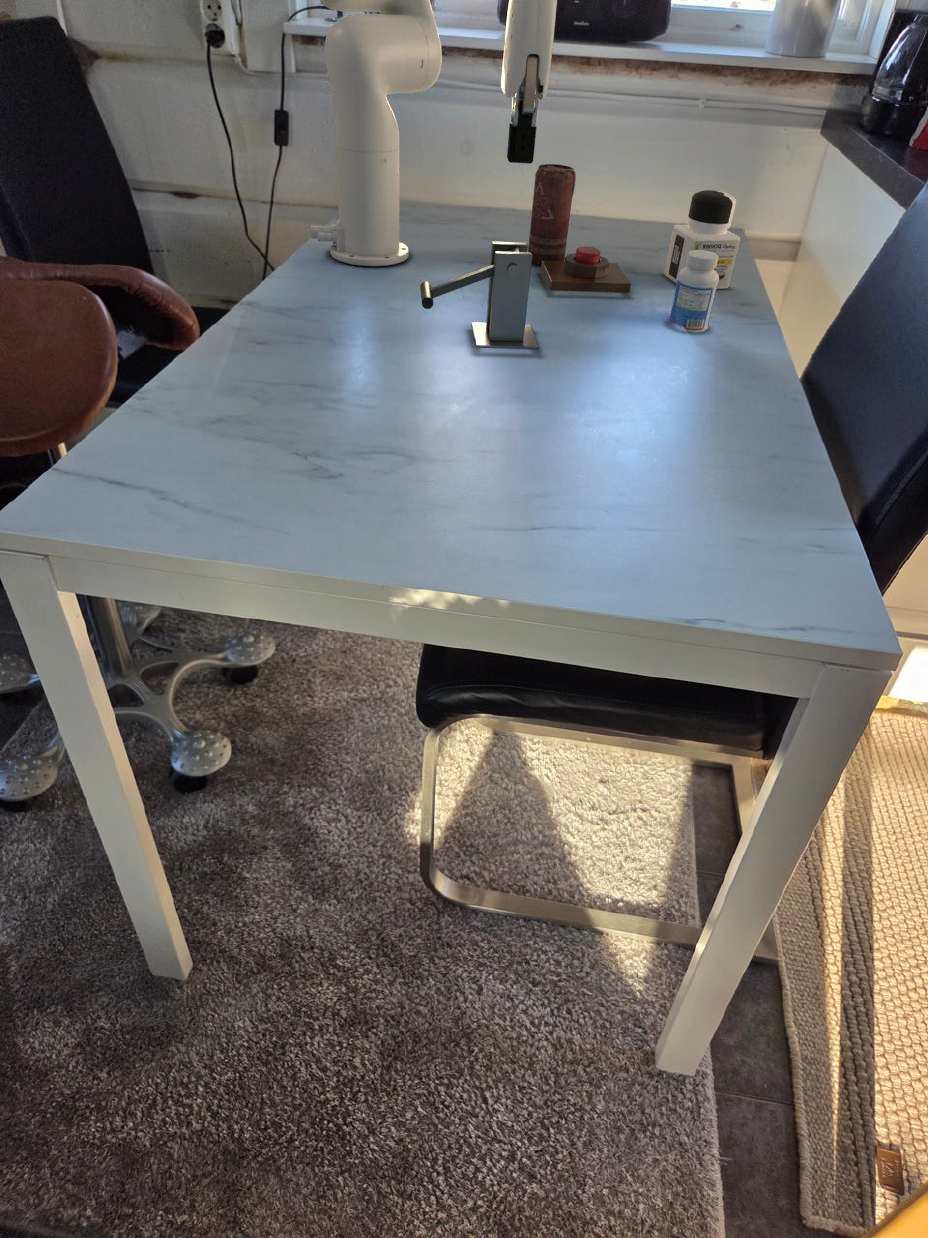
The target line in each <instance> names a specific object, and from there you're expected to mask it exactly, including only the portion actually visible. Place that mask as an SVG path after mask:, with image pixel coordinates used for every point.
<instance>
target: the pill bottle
mask: <svg viewBox="0 0 928 1238" xmlns="http://www.w3.org/2000/svg"><path fill="white" fill-rule="evenodd" d="M686 262H687V265H688V266H687V267H685V268H683V269H682V270H681V271H680V273H679V276H678V281H677V284H676V287H675V291H674V296H673V301H672V305H671V310H670V315H669V320H670V321H671V322H672V323H674V324H676V325H679V326H681V327H683V328H684V329H685V331H686V333H688V334H689V333H690V334H694V333H695V334H696V333H702V332H704V331H706V330H707V329H708V327H709V324H710V320H711V314H712V312H713V311H712V310H713V306H714V302H715V298H716V294H717V290H718V289H717V285H718V281H719V275H718V273H717V272H716V271H714V268H716V266H717V262H718V255H717V254H716V253H714V252H710V251H705V250H692V251H690V252H689V253H688V257H687V260H686Z"/></svg>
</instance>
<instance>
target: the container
mask: <svg viewBox="0 0 928 1238" xmlns="http://www.w3.org/2000/svg"><path fill="white" fill-rule="evenodd" d="M736 204H737V199H736V198H735V197H734V195H732V194H730V193H728V192H724V191H720V190H712V189H706V190H705V189H704V190H700V191H697V192H695V193H694V194H693V195H692V196H691V201H690V206H689V211H688V216H687V220H686V222H687V224H685V223H684V224H674V225H673V228H672V232H671V238H670V242H669V246H668V247H669V248H668V251H667V257H666V262H665V267H664V271H663V275H664V276H665V277H666V278H668V279H669V280H670V281H672V282H673V283H675V284H676V285H677V281H678V276H679V273H680V271H681V270H682V269H683V268H685V267H687V266H688V265H687V262H686V260H687V257H688V253H689V252H690V251H692V250H705V251H710V252H714V253H716V254H717V255H718V262H717V266H716V268H714V271H716V272H717V273H718V275H719V281H718V285H717V290H726V289H728V288H729V286H730V282H731V278H732V275H733V270H734V267H735V262H736V258H737V254H738V251H739V246H740V243H741V237H740V236H739V235H738V234H737V235H736V234H735V233H733V232H731V231H730V230H728V229H730V228H731V224H732V220H733V217H734V213H735V209H736Z"/></svg>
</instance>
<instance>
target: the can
mask: <svg viewBox="0 0 928 1238" xmlns="http://www.w3.org/2000/svg"><path fill="white" fill-rule="evenodd" d="M534 175H535V176H534V185H533V196H532V206H531V216H530V226H529V236H528V251H527V252H530V253H532V265H535V266H540V267H541V265H542V261H565V257H566V250H567V242H568V235H569V225H570V219H571V218H570V217H571V212H572V211H571V210H572V202H573V198H574V193H575V189H576V180H577V179H576V178H577V173H576V171H575V170H574V168H573V167H572V166H569V165H565V164H557V163H555V164H554V163H544V164H540V165H539V166H538V167H537V169H536V172H535V174H534Z"/></svg>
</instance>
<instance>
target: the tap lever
mask: <svg viewBox="0 0 928 1238" xmlns="http://www.w3.org/2000/svg"><path fill="white" fill-rule="evenodd" d="M506 252H519V249H518V247H517V248H514V249H511V250H509V251H506ZM493 275H494V264H492V265H488V266H485V267H482V268H480V269H476V270H473V271H471V272H469V273H466V274H463V275H461V276H458V277H455V278H453V279H450V280H447V281H444V282H442V283H440V284H437V285H434V286H432V284H431V282H429V281H427V280H426V281H422V282H421V284H420V287H419V288H420V289H419V290H420V301H421V306H422V308H424V309H426V310H430V309H432V308H433V306H434V299H435V298H437V297H441V296H443V295H445V294H449V293H451V292H453V291H456V290H459V289H462V288H464V287H467V286H470V285H472V284H475V283H478V282H481V281H483V280H485V279H489V277H491V276H493Z"/></svg>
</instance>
